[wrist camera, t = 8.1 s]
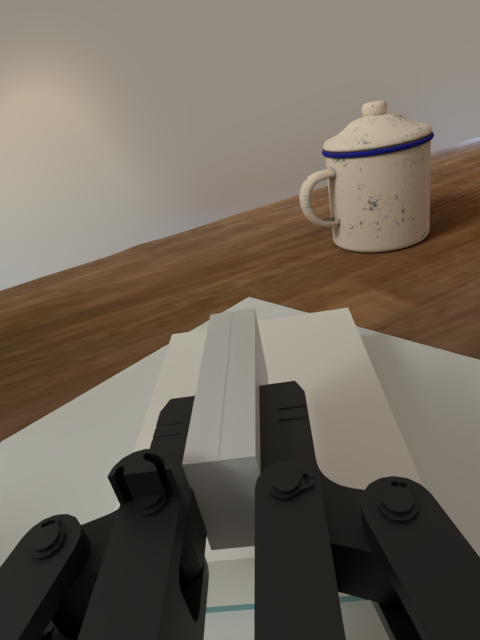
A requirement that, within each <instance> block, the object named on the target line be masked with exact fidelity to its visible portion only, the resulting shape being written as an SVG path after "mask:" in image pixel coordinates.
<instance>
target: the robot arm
mask: <svg viewBox="0 0 480 640" xmlns="http://www.w3.org/2000/svg"><path fill="white" fill-rule="evenodd" d="M107 477H108V479H109V482H110V484H111V486H112V488H113V490H114V493H115V495H116V497H117V499H118V501H119V503H120V506H119V508H118V509H117V510H116V511H114V512H112V513H110V514H107V515H105V516H103V517H100V518H98V519H95V520H93V521H90V522H87V523H85V524H82V525H81V524H80V523H79V521H78V520H77V518H76V517H74V516H72V515H69V514H59V515H54V516H51V517H49V518H46V519H44V520H42V521H41V522H39V523H38V524H36V525H35V526H33V527H32V528H31V529H30V530H29V531H28V532H27V533H26V534H25V535H24V536H23V537H22V538H21V540H20V541H19V543H18V544H17V545H16V547H15V548H14V549H13V551H12V552H11V553H10V555H9V556H8V557H7V559H6V560H5V561H4V563H3V564H2V565H1V567H0V640H204V629H205V617H206V606H207V595H208V583H209V569H208V563H207V561H206V558H205V548H206V538H207V539H208V542H209V545H210V548H211V550H219V549H229V548H240V547H250V546H255V581H254V640H346V636H345V630H344V624H343V618H342V612H341V606H340V600H339V594H338V592H340V593H344V594H348V595H352V596H355V597H359V598H363V599H366V600H370V601H372V603H373V606H374V608H375V610H376V612H377V614H378V616H379V618H380V620H381V622H382V625H383V627H384V629H385V631H386V633H387V635H388V637H389V639H390V640H480V557H479V555H478V554H477V553H476V551H475V550H474V549H473V548H472V546H471V545H470V544H469V542H468V541H467V540H466V538H465V537H464V536H463V534H462V533H461V532H460V531H459V529H458V528H457V527H456V525H455V524H454V523H453V521H452V520H451V519H450V517H449V516H448V515H447V514H446V512H445V511H444V510H443V508H442V507H441V506H440V504H439V503H438V502H437V500H436V499H435V498H434V496H433V495H432V494H431V493H430V492H429V491H428V490H427V489H426V488H425V487H423V486H422V485H421V484H419V483H417V482H415V481H413V480H411V479H409V478H403V477H397V476H390V477H383V478H379V479H377V480H376V481H374V482H372V483H370V484H369V485H368V486H367V487H366V489H365V490H362V489H356V488H350V487H346V486H342V485H339V484H337V483H335V482H333V481H331V480H330V479H328V478H327V477H326V476H325V475H324V474H323V473H322V472H321V470H320V469H319V467H318V464H317V461H316V456H315V450H314V444H313V438H312V432H311V426H310V420H309V414H308V408H307V402H306V396H305V391H304V390H303V389H302V388H301V387H300V385H299V384H298V383H297V382H296V381H289V382H281V383H274V384H268V373H267V368H266V363H265V358H264V352H263V347H262V342H261V337H260V332H259V327H258V322H257V316H256V311H255V308H250V309H243V310H237V311H231V312H224V313H218V314H212V315H210V320H209V325H208V330H207V335H206V341H205V346H204V351H203V357H202V362H201V367H200V372H199V378H198V383H197V388H196V394H195V396H188V397H181V398H174V399H170V400H169V401H168V403H167V404H166V405H165V406H164V408H163V409H162V410H161V411H160V414H159V417H158V421H157V424H156V429H155V431H154V435H153V440H152V442H151V445H150V449H143V450H140V451H136V452H133V453H131V454H129V455H128V456H126V457H124V458H122V459H121V460H120V461H119V462H118V463H117V464H116V465H115V466H114V467H113V468H112V470H111V471H110V473H109V475H108V476H107Z"/></svg>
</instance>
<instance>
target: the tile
mask: <svg viewBox="0 0 480 640" xmlns="http://www.w3.org/2000/svg"><path fill="white" fill-rule="evenodd" d="M257 322H258V327H259V332H260V337H261V342H262V347H263V352H264V358H265V363H266V368H267V373H268V384H274V383H281V382H289V381H296V382H297V383H298V384H299V385H300V387H301V388H302V389H303V390H304V391H305V396H306V402H307V408H308V414H309V420H310V426H311V432H312V438H313V444H314V450H315V456H316V461H317V464H318V467H319V469H320V470H321V472H322V473H323V474H324V475H325V476H326V477H327V478H328V479H330V480H331V481H333V482H335V483H337V484H339V485H342V486H346V487H350V488H356V489H362V490H365V489H366V487H367V486H368V485H369V484H370V483H372V482H374V481H376V480H377V479H379V478H383V477H390V476H397V477H403V478H409V479H411V480H413V481H415V482H417V483H419V484H421V485H422V486H423V484H422V482H421V479H420V477H419V475H418V472H417V470H416V468H415V465H414V463H413V460H412V458H411V456H410V453H409V451H408V449H407V446H406V444H405V442H404V439H403V437H402V434H401V432H400V430H399V427H398V425H397V423H396V420H395V418H394V415H393V413H392V411H391V408H390V406H389V404H388V401H387V399H386V396H385V394H384V392H383V389H382V387H381V385H380V382H379V380H378V377H377V375H376V373H375V370H374V368H373V366H372V363H371V361H370V359H369V356H368V354H367V351H366V349H365V347H364V344H363V342H362V340H361V337H360V335H359V332H358V330H357V328H356V325H355V323H354V321H353V318H352V316H351V313H350V311H349V309H348V308H342V309H335V310H328V311H322V312H315V313H309V314H302V315H296V316H289V317H283V318H276V319H270V320H263V321H257ZM207 330H208V329H205V330H198V331H192V332H185V333H179V334H172V337H171V340H170V343H169V346H168V349H167V352H166V355H165V358H164V361H163V364H162V367H161V370H160V373H159V376H158V379H157V382H156V385H155V388H154V391H153V394H152V397H151V400H150V403H149V406H148V409H147V413H146V416H145V419H144V422H143V425H142V428H141V431H140V434H139V437H138V440H137V443H136V446H135V449H134V452H136V451H140V450H143V449H150V445H151V442H152V440H153V435H154V431H155V429H156V424H157V421H158V417H159V414H160V411H161V410H162V409H163V408H164V406H165V405H166V404H167V403H168V401H169V400H170V399H174V398H181V397H188V396H195V394H196V388H197V383H198V378H199V372H200V367H201V362H202V357H203V351H204V346H205V341H206V335H207ZM119 506H120V503H119V501H117V504H116V507H115V510H114V511H116V510H117V509H118V508H119ZM205 558H206V561H207V563H208V569H209V583H208V595H207V606H206V613H213V612H225V611H238V610H251V609H254V581H255V546H250V547H240V548H229V549H219V550H211V548H210V545H209V542H208V539H207V538H206V548H205ZM338 594H339V600H340V602H352V601H365V600H366V599H363V598H359V597H355V596H352V595H348V594H344V593H340V592H338Z"/></svg>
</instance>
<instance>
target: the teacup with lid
mask: <svg viewBox="0 0 480 640" xmlns="http://www.w3.org/2000/svg"><path fill="white" fill-rule="evenodd" d="M386 111H387V103H386V101H384V100H379V101H373V102H369V103H365V104H364V105H363V107H362V114H363V116H364V117H361V118H358V119H356V120H354V121H352V122H351V123H350V124H349V125H348V126H347V127H346V128H345V129H344V130H343V131H342V132H341V133H339V134H338V135H336V136H334V137H332V138H330V139H328V140H327V141H326V142H325V144H324V146H323V151H322V154H323V155H324V156H325V158H326V168H327V169H325V170H321V171H318V172H315V173H313V174H312V175H310V176H309V177H308V178H307V179H306V180H305V182H304V183H303V185H302V187H301V190H300V196H299V197H300V205H301V208H302V211H303V213H304V215H305V216H306V218H307V219H308V220H309V221H310V222H311V223H313V224H315V225H316V226H319V227H323V228H330V227H332V232H333V240H334V242H335V244H336V245H337V246H339V247H340V248H342V249H345V250H348V251H353V252H363V253H377V252H387V251H394V250H398V249H403V248H406V247H409V246H412V245H414V244H417V243H419V242H420V241H422V240H423V239H424V238H425V237H426V236H427V235H428V233H429V230H430V143H431V142H430V140H431V139H432V138H433V137H434V134H433V132H432V128H431V127H430V126H429V125H428V124H426V123H421V122H415V121H411V120H409V119H407V118H405V117H404V116H402V115H400V114H397V113H385V112H386ZM324 179H327V180H328V190H329V201H330V211H331V218H328V219H320V218H319V217H318V216H317V215H316V214H315V212H314V211H313V208H312V206H311V200H310V196H311V191H312V189H313V188H314V186H315V185H316V184H317V183H318V182H320V181H322V180H324Z"/></svg>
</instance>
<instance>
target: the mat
mask: <svg viewBox="0 0 480 640" xmlns="http://www.w3.org/2000/svg"><path fill="white" fill-rule="evenodd" d="M250 308H255V311H256V316H257V321H263V320H270V319H276V318H283V317H289V316H296V315H302V314H309V313H306V312H303V311H299V310H295V309H292V308H288V307H284V306H281V305H277V304H273V303H270V302H266V301H262V300H259V299H255V298H251V297H248V298H246V299H245V300H243V301H241V302H239V303H238V304H236V305H234V306H233V307H231V308H229V309H227V310H226V311H224V312H231V311H237V310H243V309H250ZM224 312H222V313H224ZM208 325H209V321H207V322H205V323H204V324H202V325H200V326H198V327H197V328H195V329H193V330H192V331H198V330H205V329H208ZM356 328H357V330H358V332H359V335H360V337H361V340H362V342H363V344H364V347H365V349H366V351H367V354H368V356H369V359H370V361H371V363H372V366H373V368H374V370H375V373H376V375H377V377H378V380H379V382H380V385H381V387H382V389H383V392H384V394H385V396H386V399H387V401H388V404H389V406H390V408H391V411H392V413H393V415H394V418H395V420H396V423H397V425H398V427H399V430H400V432H401V434H402V437H403V439H404V442H405V444H406V446H407V449H408V451H409V453H410V456H411V458H412V460H413V463H414V465H415V468H416V470H417V472H418V475H419V477H420V479H421V482H422V484H423V487H425V488H426V489H427V490H428V491H429V492H430V493H431V494H432V495H433V496H434V498H435V499H436V500H437V502H438V503H439V504H440V506H441V507H442V508H443V510H444V511H445V512H446V514H447V515H448V516H449V517H450V519H451V520H452V521H453V523H454V524H455V525H456V527H457V528H458V529H459V531H460V532H461V533H462V534H463V536H464V537H465V538H466V540H467V541H468V542H469V544H470V545H471V546H472V548H473V549H474V550H475V551H476V553H477V554H478V555H479V557H480V360H478V359H474V358H471V357H467V356H464V355H460V354H456V353H453V352H449V351H445V350H442V349H438V348H434V347H431V346H427V345H423V344H420V343H416V342H412V341H409V340H405V339H401V338H398V337H394V336H390V335H387V334H383V333H379V332H376V331H372V330H368V329H365V328H361V327H357V326H356ZM192 331H190V332H192ZM168 346H169V344H168V345H166V346H164V347H162V348H161V349H159V350H157V351H156V352H154V353H152V354H151V355H149V356H147V357H145V358H144V359H142V360H140V361H139V362H137V363H135V364H133V365H132V366H130V367H128V368H127V369H125V370H123V371H121V372H120V373H118V374H116V375H115V376H113V377H111V378H109V379H108V380H106V381H104V382H103V383H101V384H99V385H98V386H96V387H94V388H92V389H91V390H89V391H87V392H86V393H84V394H82V395H80V396H79V397H77V398H75V399H74V400H72V401H70V402H68V403H67V404H65V405H63V406H62V407H60V408H58V409H56V410H55V411H53V412H51V413H50V414H48V415H46V416H44V417H43V418H41V419H39V420H38V421H36V422H34V423H33V424H31V425H29V426H27V427H26V428H24V429H22V430H21V431H19V432H17V433H15V434H14V435H12V436H10V437H9V438H7V439H5V440H3V441H2V442H0V567H1V565H2V564H3V563H4V561H5V560H6V559H7V557H8V556H9V555H10V553H11V552H12V551H13V549H14V548H15V547H16V545H17V544H18V543H19V541H20V540H21V538H22V537H23V536H24V535H25V534H26V533H27V532H28V531H29V530H30V529H31V528H32V527H33V526H35V525H36V524H38V523H39V522H41V521H42V520H44V519H46V518H49V517H51V516H54V515H59V514H69V515H72V516H74V517H76V518H77V520H78V521H79V523H80V524H81V525H82V524H85V523H87V522H90V521H93V520H95V519H98V518H100V517H103V516H105V515H107V514H110V513H112V512H114V510H115V507H116V504H117V501H118V499H117V497H116V495H115V493H114V490H113V488H112V486H111V484H110V482H109V479H108V477H107V476H108V475H109V473H110V471H111V470H112V468H113V467H114V466H115V465H116V464H117V463H118V462H119V461H120V460H121V459H122V458H124V457H126V456H128V455H129V454H131V453H133V452H134V449H135V446H136V443H137V440H138V437H139V434H140V431H141V428H142V425H143V422H144V419H145V416H146V413H147V409H148V406H149V403H150V400H151V397H152V394H153V391H154V388H155V385H156V382H157V379H158V376H159V373H160V370H161V367H162V364H163V361H164V358H165V355H166V352H167V349H168ZM340 606H341V612H342V618H343V624H344V630H345V636H346V640H390V639H389V637H388V635H387V633H386V631H385V629H384V627H383V625H382V622H381V620H380V618H379V616H378V614H377V612H376V610H375V608H374V606H373V603H372V601H370V600H365V601H352V602H340ZM204 640H254V609H251V610H238V611H225V612H213V613H206V617H205V629H204Z"/></svg>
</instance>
